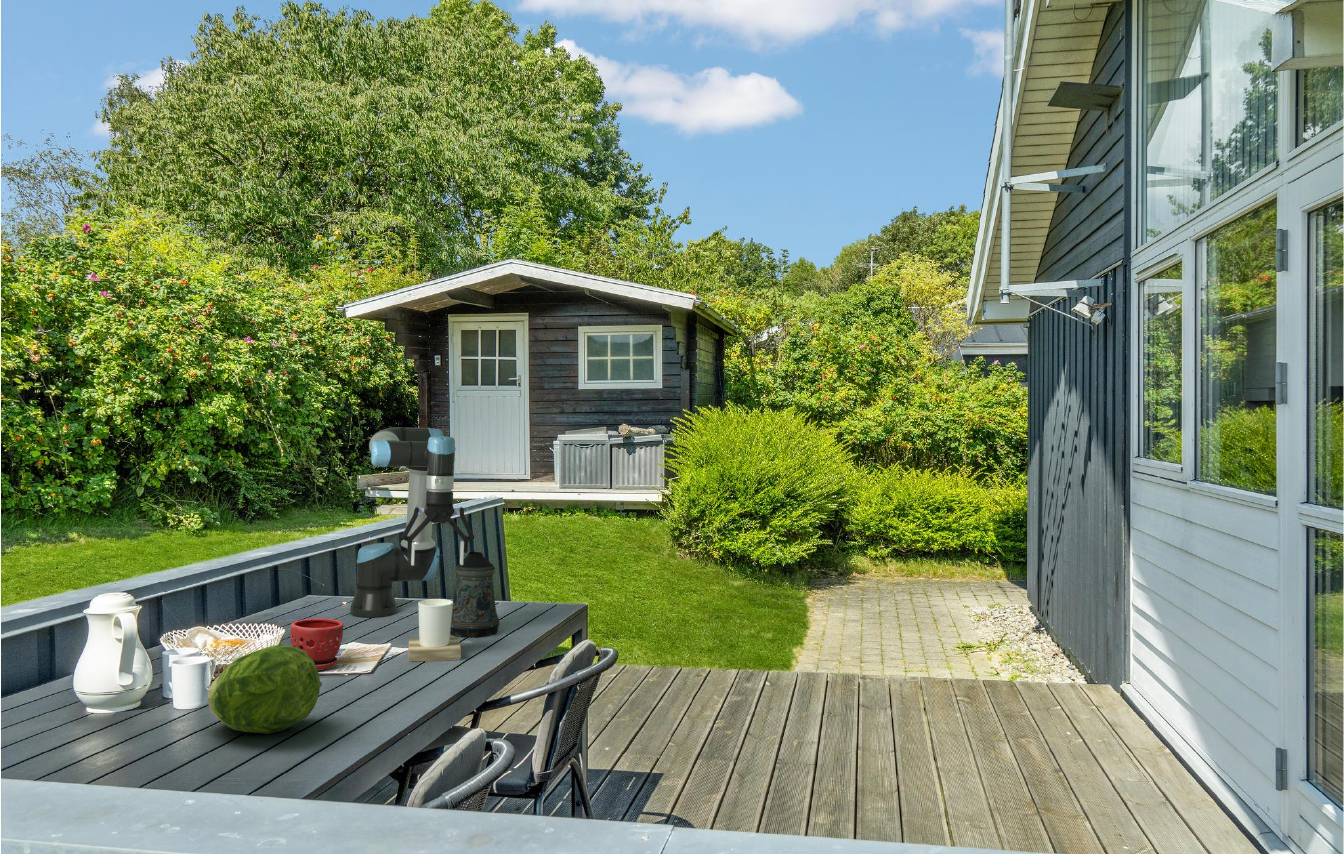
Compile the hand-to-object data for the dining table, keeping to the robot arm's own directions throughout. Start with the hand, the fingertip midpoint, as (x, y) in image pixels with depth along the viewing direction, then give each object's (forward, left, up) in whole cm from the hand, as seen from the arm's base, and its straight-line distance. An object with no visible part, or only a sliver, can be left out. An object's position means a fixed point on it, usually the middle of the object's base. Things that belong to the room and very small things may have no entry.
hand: (437, 564), depth 261 cm
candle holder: (0, 0, -23) cm, 23 cm away
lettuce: (+56, -38, -26) cm, 73 cm away
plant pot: (+8, -31, -26) cm, 41 cm away
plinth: (0, 0, -26) cm, 26 cm away
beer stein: (-27, +12, -26) cm, 39 cm away
